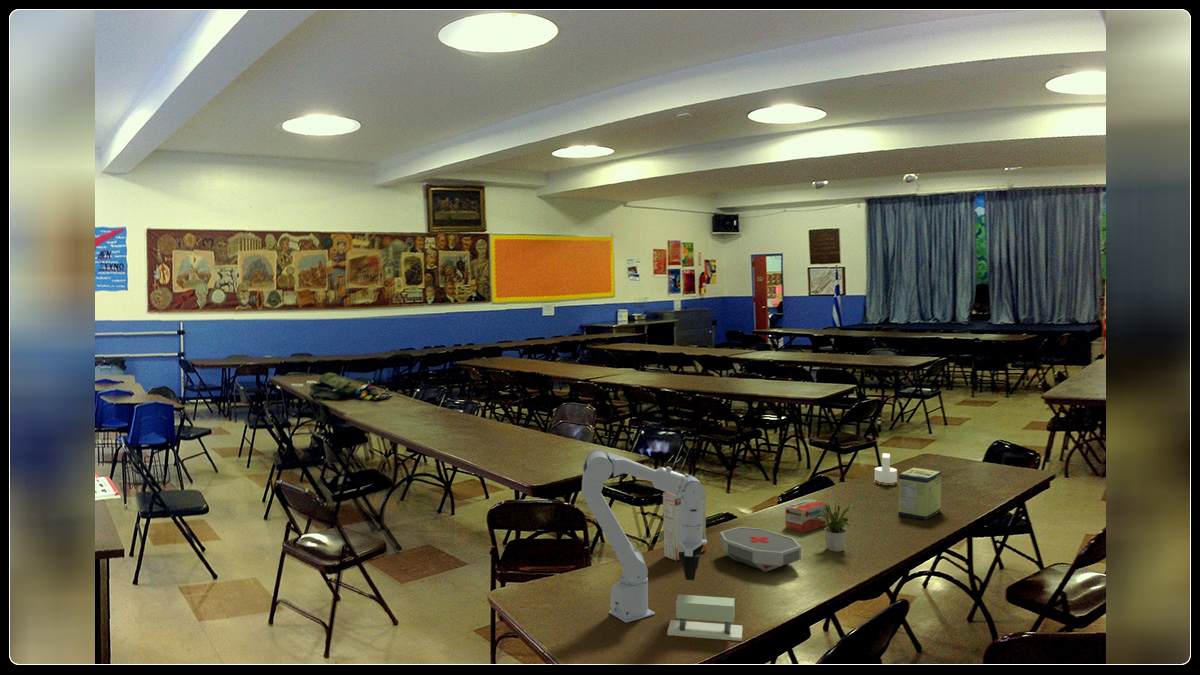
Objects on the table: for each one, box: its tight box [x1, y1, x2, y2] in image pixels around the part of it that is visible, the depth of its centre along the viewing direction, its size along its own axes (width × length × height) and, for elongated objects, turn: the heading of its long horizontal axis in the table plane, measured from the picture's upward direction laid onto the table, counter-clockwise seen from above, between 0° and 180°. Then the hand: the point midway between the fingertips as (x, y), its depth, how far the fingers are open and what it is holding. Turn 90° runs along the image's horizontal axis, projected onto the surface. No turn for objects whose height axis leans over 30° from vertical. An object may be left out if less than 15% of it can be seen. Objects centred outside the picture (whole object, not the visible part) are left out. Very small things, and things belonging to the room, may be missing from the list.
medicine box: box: [784, 498, 830, 533], centre depth 282 cm, size 15×8×8 cm, turn 130°
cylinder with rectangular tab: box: [874, 452, 898, 483], centre depth 341 cm, size 9×9×12 cm
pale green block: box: [675, 593, 736, 623], centre depth 196 cm, size 14×5×4 cm, turn 78°
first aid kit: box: [719, 526, 802, 573], centre depth 245 cm, size 18×8×25 cm
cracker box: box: [662, 487, 707, 562], centre depth 253 cm, size 14×6×21 cm, turn 130°
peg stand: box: [666, 618, 744, 642], centre depth 197 cm, size 18×7×4 cm, turn 78°
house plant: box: [812, 499, 855, 552], centre depth 257 cm, size 14×14×16 cm
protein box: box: [897, 466, 942, 520], centre depth 295 cm, size 10×16×16 cm
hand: (691, 574), depth 209 cm, fingers open, 7 cm apart
